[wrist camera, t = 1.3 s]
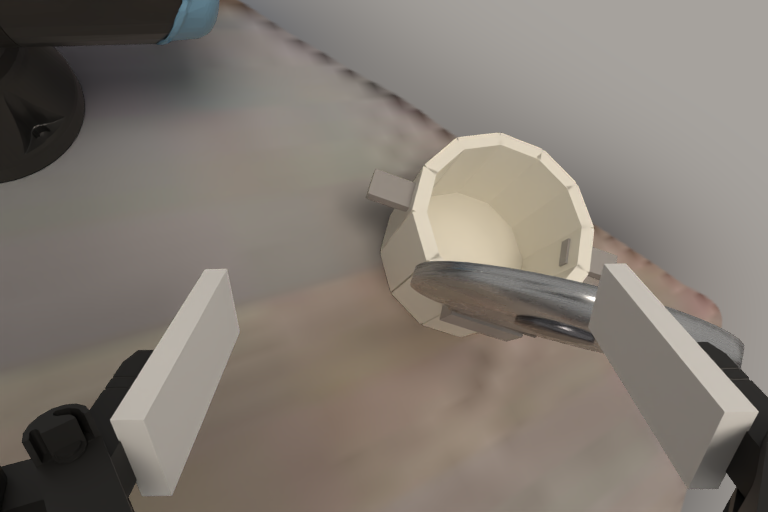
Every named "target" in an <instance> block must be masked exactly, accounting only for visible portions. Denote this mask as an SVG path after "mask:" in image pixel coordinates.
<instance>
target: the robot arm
mask: <svg viewBox="0 0 768 512" xmlns="http://www.w3.org/2000/svg"><path fill="white" fill-rule="evenodd" d="M218 10H219V0H0V182H6V181H11V180H14V179H18V178H21V177H24V176H27V175H29V174H32V173H34V172H36V171H38V170H40V169H42V168H44V167H46V166H47V165H49V164H50V163H52V162H53V161H54V160H56V159H57V158H58V157H59V156H61V155H62V154H63V153H64V152H65V151H66V150H67V149H68V147H69V146H70V145H71V144H72V142H73V141H74V139H75V138H76V136H77V134H78V132H79V130H80V128H81V125H82V122H83V118H84V111H85V104H84V96H83V92H82V89H81V86H80V84H79V82H78V80H77V78H76V76H75V75H74V73H73V71H72V69H71V68H70V66H69V64H68V63H67V61H66V60H65V59H64V58H63V56H62V55H61V54H60V53H59V52H58V51H57V50H56V49H55V48H54V47H53V46H87V45H125V44H157V45H165V44H167V43H169V42H171V41H177V40H187V39H197V38H201V37H203V36H205V35H207V34H208V33H209V32H210V31H211V30H212V28H213V27H214V24H215V22H216V19H217V15H218ZM588 328H589V329H590V331H591V333H592V334H593V336H594V338H595V339H596V341H597V342H598V344H599V346H600V347H601V349H602V351H603V352H604V354H605V355H606V357H607V359H608V360H609V362H610V364H611V365H612V367H613V368H614V370H615V372H616V373H617V375H618V377H619V378H620V380H621V381H622V383H623V385H624V386H625V388H626V390H627V391H628V393H629V394H630V396H631V398H632V399H633V401H634V403H635V404H636V406H637V407H638V409H639V411H640V412H641V414H642V415H643V417H644V419H645V420H646V422H647V424H648V425H649V427H650V428H651V430H652V432H653V433H654V435H655V437H656V438H657V440H658V441H659V443H660V445H661V446H662V448H663V450H664V451H665V453H666V454H667V456H668V458H669V459H670V461H671V463H672V464H673V466H674V467H675V469H676V471H677V472H678V474H679V476H680V477H681V479H682V480H683V482H684V484H685V485H686V487H687V489H718V488H719V486H720V484H721V482H722V480H723V478H724V477H725V475H726V473H727V474H728V475H729V477H730V478H731V480H732V481H733V482H734V484H735V485H736V489H735V491H734V492H733V494H732V496H731V498H730V500H729V501H728V503H727V505H726V507H725V509H724V510H723V512H768V397H767V396H766V395H765V394H764V393H763V392H762V391H761V390H760V389H759V388H758V387H757V386H756V385H755V384H754V383H753V381H750V380H749V377H748V376H747V375H746V374H745V373H744V372H743V371H742V370H741V369H739V368H738V366H737V365H736V364H735V363H734V361H733V360H732V359H731V358H730V357H729V356H728V355H727V354H726V353H724V352H723V351H721V350H720V349H718V348H717V347H715V346H713V345H712V344H710V343H709V342H696V341H695V340H694V339H693V338H692V337H691V336H690V334H689V333H688V332H687V331H686V330H685V329H684V328H683V327H682V326H681V324H680V323H679V322H678V321H677V320H676V319H675V318H674V317H673V316H672V314H671V313H670V312H669V311H668V310H667V309H666V308H665V307H664V305H663V304H662V303H661V302H660V301H659V300H658V299H657V298H656V297H655V295H654V294H653V293H652V292H651V291H650V290H649V289H648V288H647V287H646V285H645V284H644V283H643V282H642V281H641V280H640V279H639V278H638V277H637V275H636V274H635V273H634V272H633V271H632V270H631V269H630V268H629V266H628V265H627V264H604V265H603V269H602V273H601V277H600V281H599V285H598V289H597V293H596V297H595V301H594V305H593V309H592V313H591V317H590V321H589V325H588ZM239 333H240V330H239V325H238V320H237V315H236V310H235V305H234V300H233V295H232V290H231V285H230V280H229V276H228V271H227V269H205V270H204V272H203V273H202V275H201V277H200V278H199V280H198V281H197V283H196V285H195V286H194V288H193V289H192V291H191V292H190V294H189V296H188V297H187V299H186V300H185V302H184V304H183V305H182V307H181V308H180V310H179V311H178V313H177V315H176V316H175V318H174V319H173V321H172V323H171V324H170V326H169V327H168V329H167V330H166V332H165V334H164V335H163V337H162V338H161V340H160V342H159V343H158V345H157V346H156V348H155V349H154V350H138V351H137V352H135V353H134V354H133V355H132V356H130V357H129V358H128V359H127V360H125V361H124V362H123V363H122V364H121V366H120V367H119V369H118V370H117V371H116V373H115V374H114V376H113V379H111V380H110V382H109V383H108V384H107V386H106V389H105V390H103V392H102V393H101V395H100V396H99V397H98V399H97V400H96V402H95V403H94V405H93V406H92V407H91V409H90V410H89V409H88V408H87V407H86V406H84V405H79V404H68V405H62V406H59V407H56V408H53V409H51V410H49V411H47V412H45V413H44V414H42V415H40V416H39V417H38V418H36V419H35V420H34V421H33V422H32V423H31V424H29V426H28V427H27V429H26V430H25V432H24V433H23V438H22V443H23V445H24V447H25V449H26V451H27V452H28V454H29V456H30V458H31V459H29V460H25V461H21V462H17V463H14V464H10V465H6V466H2V467H1V466H0V512H134V509H133V507H132V505H131V502H130V500H129V498H128V497H129V495H130V493H131V491H132V489H133V487H134V485H135V483H137V486H138V488H139V490H140V493H141V495H142V496H172V495H173V492H174V490H175V488H176V485H177V483H178V480H179V478H180V475H181V473H182V471H183V468H184V466H185V463H186V461H187V459H188V456H189V454H190V451H191V449H192V446H193V444H194V442H195V439H196V437H197V434H198V432H199V429H200V427H201V425H202V422H203V420H204V417H205V415H206V413H207V410H208V408H209V405H210V403H211V400H212V398H213V396H214V393H215V391H216V388H217V386H218V384H219V381H220V379H221V376H222V374H223V371H224V369H225V367H226V364H227V362H228V359H229V357H230V355H231V352H232V350H233V347H234V345H235V342H236V340H237V338H238V335H239Z"/></svg>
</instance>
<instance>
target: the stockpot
mask: <svg viewBox="0 0 768 512" xmlns="http://www.w3.org/2000/svg"><path fill="white" fill-rule="evenodd" d="M575 184H576V182H575V181H574V180H573V179H572V178H571V177H570V176H569V175H568V174H567V173H566V172H565V171H564V170H563V169H562V168H561V167H560V166H559V165H558V164H557V163H556V162H555V161H554V160H553V159H552V158H551V157H550V155H549V154H548V153H547V152H546V151H545V150H543V151H542V149H541V148H539V147H536V146H534V145H531V144H529V143H526V142H523V141H521V140H518V139H516V138H513V137H511V136H508V135H505V134H503V133H500V134H499V133H490V134H482V135H473V136H465V137H458V138H457V139H456V138H455V139H454V140H453V141H452V142H451V143H450V144H448V145H447V146H446V147H445V148H444V149H443V150H441V151H440V152H439V153H438V154H437V155H435V156H434V157H433V158H432V159H431V160H430V161H428V162H427V163H426V164H425V165H424V166H423V168H422V169H421V171H420V172H419V174H418V175H417V177H416V178H415V180H414V181H413V182H412V181H409V180H406V179H404V178H401V177H398V176H395V175H393V174H390V173H387V172H384V171H381V170H379V169H375V171H374V173H373V176H372V179H371V182H370V186H369V189H368V192H367V195H366V198H367V199H370V200H373V201H375V202H378V203H381V204H384V205H387V206H390V207H393V208H395V209H394V211H393V212H392V214H391V215H390V218H389V221H388V225H387V229H386V232H385V236H384V239H383V243H382V246H381V250H380V251H381V253H380V254H381V258H382V262H383V266H384V269H385V273H386V277H387V281H388V284H389V288H390V292H393V293H392V295H393V296H394V297H395V298H396V299H397V300H398V301H399V302H400V303H401V304H402V305H403V306H404V307H405V308H406V310H407V311H408V312H409V313H410V314H411V315H412V316H413V317H414V318H415V319H416V320H417V321H418V322H419V323H420V324H421V323H422V325H423V326H426V327H430V328H433V329H436V330H439V331H442V332H445V333H449V334H452V335H455V336H458V337H465V336H468V335H472V334H476V333H481V334H484V335H488V336H491V337H494V338H497V339H500V340H503V341H510V340H514V339H518V338H522V336H523V334H521V333H518V332H515V331H512V330H509V329H506V328H503V327H500V326H497V325H493V324H490V323H487V322H484V321H481V320H478V319H475V318H472V317H469V316H466V315H463V314H460V313H456V312H453V311H450V310H449V309H448V307H447V306H445V305H442V304H440V303H438V302H435V301H433V300H431V299H429V298H427V297H425V296H423V295H421V294H420V293H418V292H417V291H415V290H414V289H413V288H412V287H411V286H410V283H411V279H412V276H413V273H414V269H415V267H416V265H418V264H420V263H423V262H430V261H457V262H470V263H479V264H487V265H494V266H501V267H507V268H514V269H519V270H525V271H530V272H536V273H540V274H545V275H550V276H555V277H560V278H564V279H569V280H573V281H577V282H581V283H582V282H583V280H584V279H585V278H586V277H587V276H589V277H592V278H595V279H597V280H600V277H601V273H602V269H603V265H604V264H617V256H616V255H614V254H611V253H608V252H605V251H602V250H600V249H597V248H594V247H592V244H593V235H594V229H593V227H594V226H593V223H592V221H591V218H590V216H589V213H588V210H587V208H586V205H585V203H584V200H583V197H582V195H581V192H580V190H579V187H578V185H575Z"/></svg>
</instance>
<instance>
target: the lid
mask: <svg viewBox="0 0 768 512" xmlns="http://www.w3.org/2000/svg"><path fill="white" fill-rule="evenodd" d="M410 286H411V287H412V288H413V289H414V290H415V291H417V292H418V293H420V294H421V295H423V296H425V297H427V298H429V299H431V300H433V301H435V302H438V303H440V304H442V305H445V306H447V307H448V309H449V310H450V311H453V312H456V313H460V314H463V315H466V316H469V317H472V318H475V319H478V320H481V321H484V322H487V323H490V324H493V325H497V326H500V327H503V328H506V329H509V330H512V331H515V332H518V333H521V334H524V335H527V336H530V337H534V338H535V337H537V336H538V337H542V338H545V339H549V340H552V341H556V342H560V343H564V344H567V345H571V346H575V347H579V348H583V349H587V350H591V351H596V352H600V353H604V352H603V351H602V349H601V347H600V346H599V344H598V342H597V341H596V339H595V338H594V336H593V334H592V333H591V331H590V329H589V328H588V325H589V321H590V317H591V313H592V309H593V305H594V301H595V297H596V293H597V289H598V286H594V285H590V284H585V283H581V282H577V281H573V280H569V279H564V278H560V277H555V276H550V275H545V274H540V273H536V272H530V271H525V270H519V269H514V268H507V267H501V266H494V265H487V264H479V263H470V262H457V261H430V262H423V263H420V264H418V265H416V267H415V269H414V273H413V276H412V279H411V283H410ZM664 307H665V308H666V309H667V310H668V311H669V312H670V313H671V314H672V316H673V317H674V318H675V319H676V320H677V321H678V322H679V323H680V324H681V326H682V327H683V328H684V329H685V330H686V331H687V332H688V333H689V334H690V336H691V337H692V338H693V339H694V340H695V341H696V342H709V343H710V344H712V345H713V346H715V347H717V348H718V349H720V350H721V351H723V352H724V353H726V354H727V355H728V356H729V357H730V358H731V359H732V360H733V361H734V363H735V364H736V365H737V366H738V368H739V369H741V365H742V359H743V353H744V344H743V343H742V342H741V341H740V339H738V338H737V337H735V336H734V335H732V334H731V333H729V332H727V331H725V330H723V329H722V328H720V327H718V326H716V325H713V324H711V323H709V322H706V321H704V320H702V319H699V318H697V317H694V316H691V315H689V314H686V313H683V312H681V311H678V310H675V309H672V308H669V307H666V306H664Z"/></svg>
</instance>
